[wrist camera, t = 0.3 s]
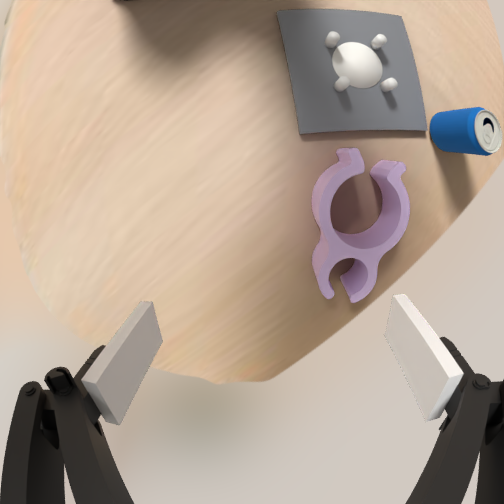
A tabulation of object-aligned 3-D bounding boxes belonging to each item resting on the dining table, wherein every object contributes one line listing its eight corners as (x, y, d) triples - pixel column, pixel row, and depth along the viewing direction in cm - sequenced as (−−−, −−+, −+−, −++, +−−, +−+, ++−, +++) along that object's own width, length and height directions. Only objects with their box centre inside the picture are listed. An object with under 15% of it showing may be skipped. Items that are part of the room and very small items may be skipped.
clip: (366, 285, 44) (379, 306, 37) (294, 272, 44) (297, 294, 37) (399, 165, 37) (420, 168, 30) (322, 143, 37) (332, 141, 30)
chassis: (276, 14, 30) (277, 1, 26) (398, 18, 28) (408, 9, 24) (299, 134, 36) (302, 132, 32) (423, 130, 34) (437, 129, 30)
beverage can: (459, 122, 33) (506, 120, 21) (453, 157, 35) (500, 164, 24) (430, 106, 32) (475, 97, 21) (424, 142, 35) (469, 143, 23)
